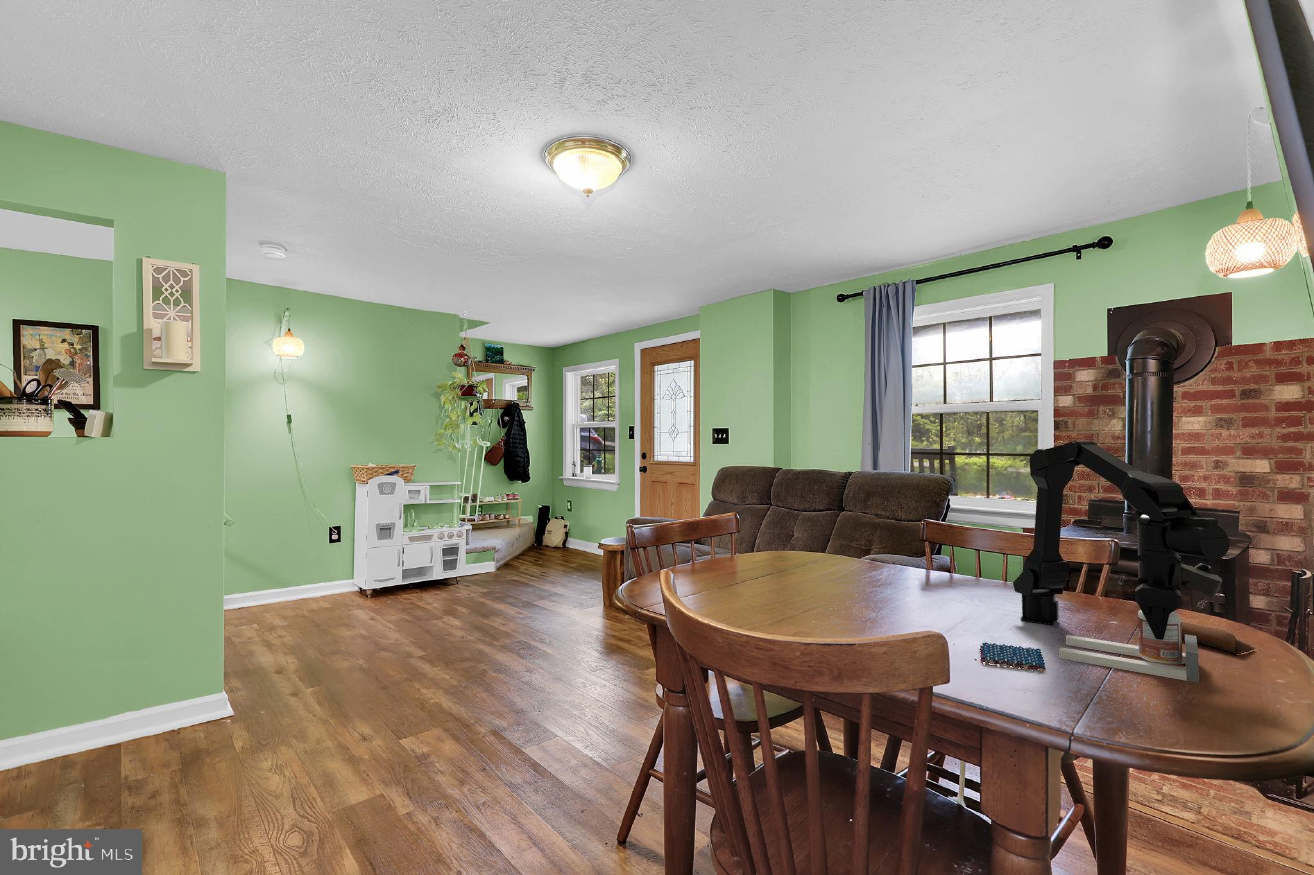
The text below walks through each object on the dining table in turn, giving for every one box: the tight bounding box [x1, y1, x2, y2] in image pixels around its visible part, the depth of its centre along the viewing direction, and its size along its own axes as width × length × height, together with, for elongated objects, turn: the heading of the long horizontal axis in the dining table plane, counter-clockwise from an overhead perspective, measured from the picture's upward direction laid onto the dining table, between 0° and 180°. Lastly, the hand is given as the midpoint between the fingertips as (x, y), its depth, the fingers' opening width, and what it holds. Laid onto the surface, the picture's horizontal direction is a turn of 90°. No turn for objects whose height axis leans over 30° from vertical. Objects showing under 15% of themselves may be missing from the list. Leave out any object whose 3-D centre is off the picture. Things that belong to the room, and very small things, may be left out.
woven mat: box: [979, 641, 1047, 673], centre depth 117 cm, size 10×11×2 cm
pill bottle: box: [1137, 609, 1183, 666], centre depth 112 cm, size 6×6×11 cm
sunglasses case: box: [1181, 618, 1257, 655], centre depth 126 cm, size 18×7×7 cm
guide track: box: [1058, 634, 1200, 684], centre depth 115 cm, size 20×12×5 cm, turn 50°
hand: (1159, 634), depth 112 cm, fingers closed on pill bottle, 6 cm apart
